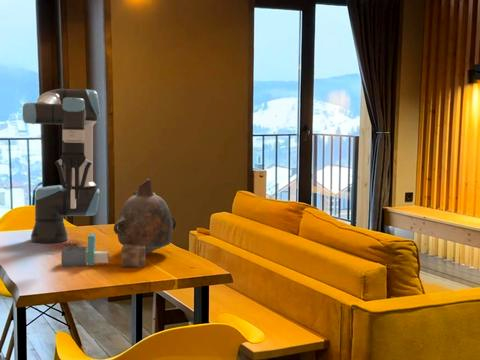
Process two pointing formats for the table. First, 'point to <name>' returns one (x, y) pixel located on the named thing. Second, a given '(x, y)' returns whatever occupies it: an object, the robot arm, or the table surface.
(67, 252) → the sleeve
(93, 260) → the bolt
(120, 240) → the jug
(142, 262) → the socket
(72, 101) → the robot arm
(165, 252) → the table surface
